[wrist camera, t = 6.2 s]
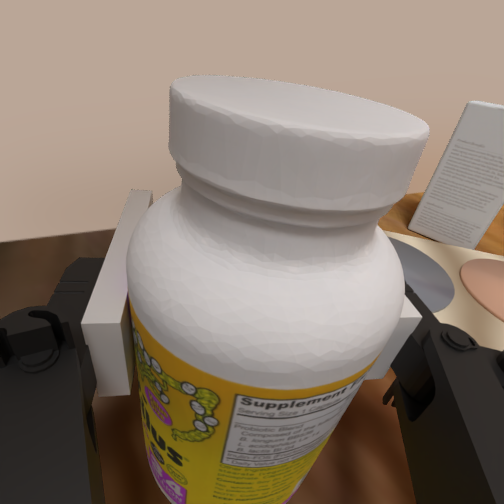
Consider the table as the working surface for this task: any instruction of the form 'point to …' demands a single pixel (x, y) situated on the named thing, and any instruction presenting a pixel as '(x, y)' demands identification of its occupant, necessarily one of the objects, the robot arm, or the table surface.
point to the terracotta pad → (485, 284)
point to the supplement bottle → (264, 280)
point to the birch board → (461, 291)
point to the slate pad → (425, 276)
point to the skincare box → (466, 180)
